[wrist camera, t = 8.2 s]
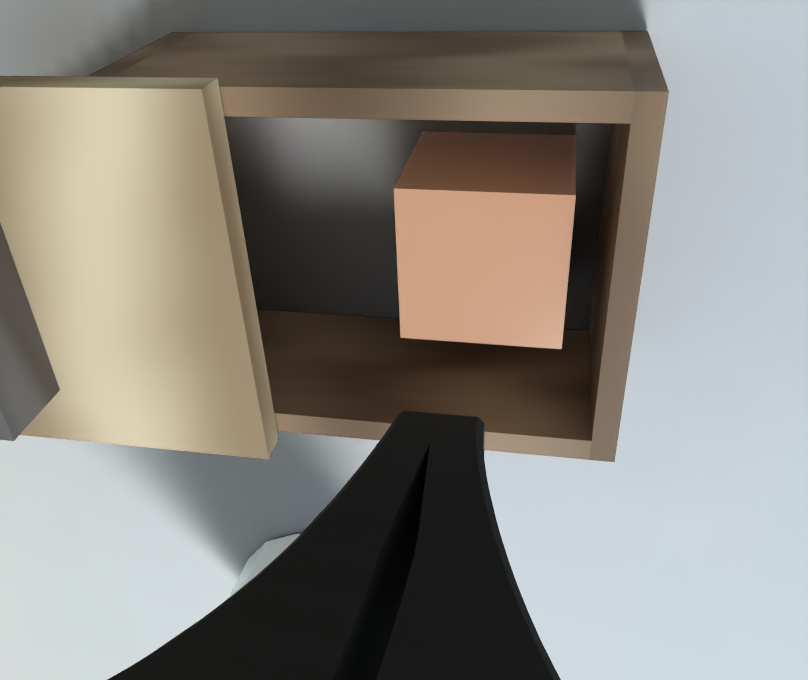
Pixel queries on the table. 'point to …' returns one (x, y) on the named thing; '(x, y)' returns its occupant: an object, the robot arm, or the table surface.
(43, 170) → the lid
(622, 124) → the box
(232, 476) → the table surface
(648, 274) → the table surface
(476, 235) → the cube
